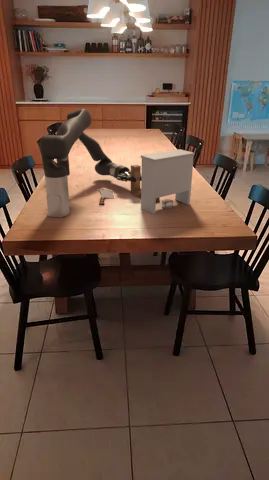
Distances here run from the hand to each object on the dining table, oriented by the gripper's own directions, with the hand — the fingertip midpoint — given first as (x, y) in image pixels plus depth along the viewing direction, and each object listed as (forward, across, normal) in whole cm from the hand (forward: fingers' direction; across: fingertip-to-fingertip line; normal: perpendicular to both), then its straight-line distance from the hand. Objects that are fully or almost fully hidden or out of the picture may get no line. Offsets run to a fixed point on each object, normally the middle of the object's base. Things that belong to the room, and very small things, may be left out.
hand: (138, 179), depth 179 cm
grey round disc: (+22, 0, +8) cm, 24 cm away
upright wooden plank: (+5, 0, +8) cm, 9 cm away
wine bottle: (-56, -14, +8) cm, 58 cm away
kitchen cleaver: (-6, -16, +8) cm, 18 cm away
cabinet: (+21, 0, +8) cm, 22 cm away
